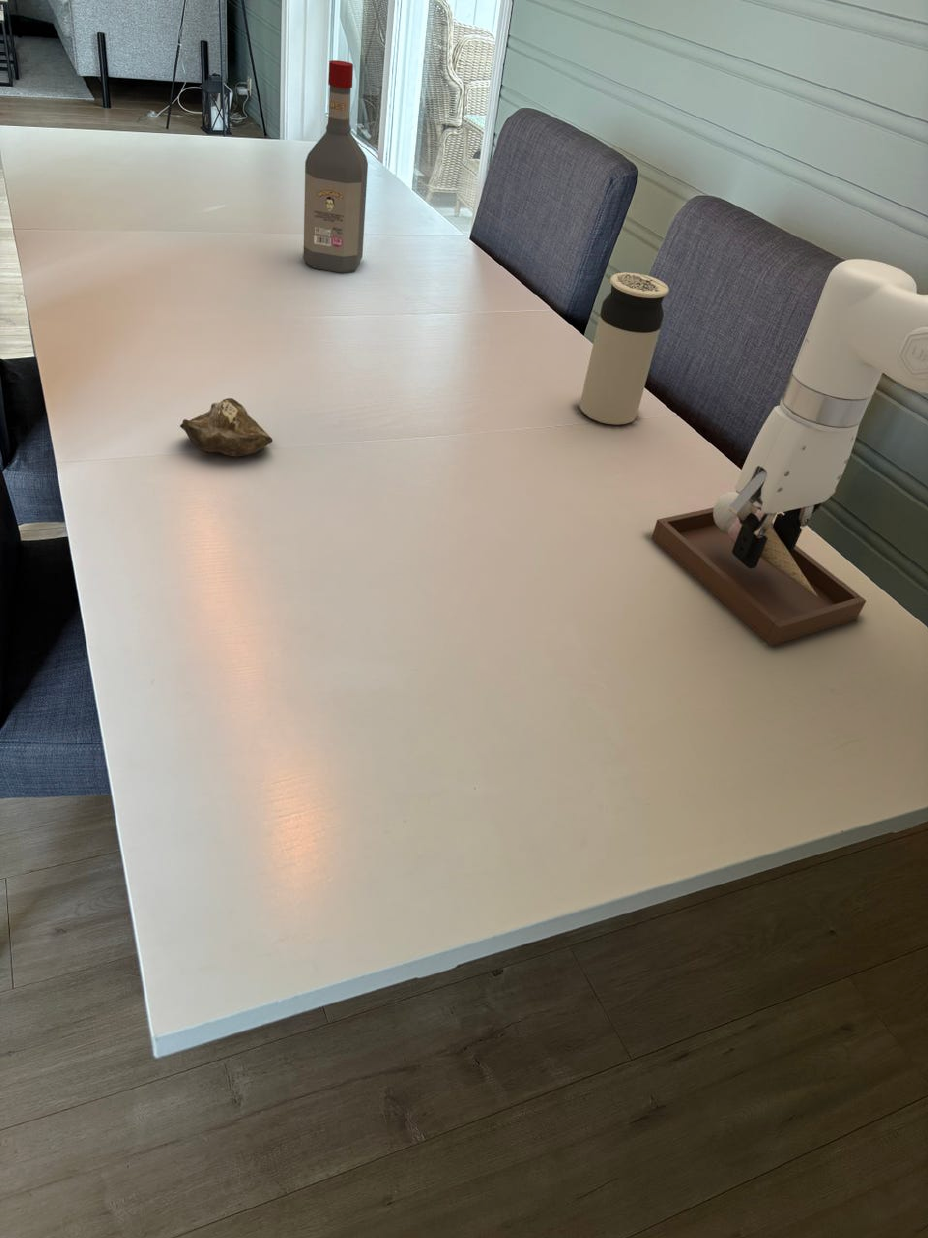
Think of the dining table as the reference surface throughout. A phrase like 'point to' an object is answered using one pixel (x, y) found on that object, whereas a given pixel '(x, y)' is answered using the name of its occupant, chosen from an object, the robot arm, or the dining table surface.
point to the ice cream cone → (773, 548)
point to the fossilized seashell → (226, 430)
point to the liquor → (335, 185)
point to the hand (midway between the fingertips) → (760, 555)
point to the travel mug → (623, 348)
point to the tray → (757, 581)
